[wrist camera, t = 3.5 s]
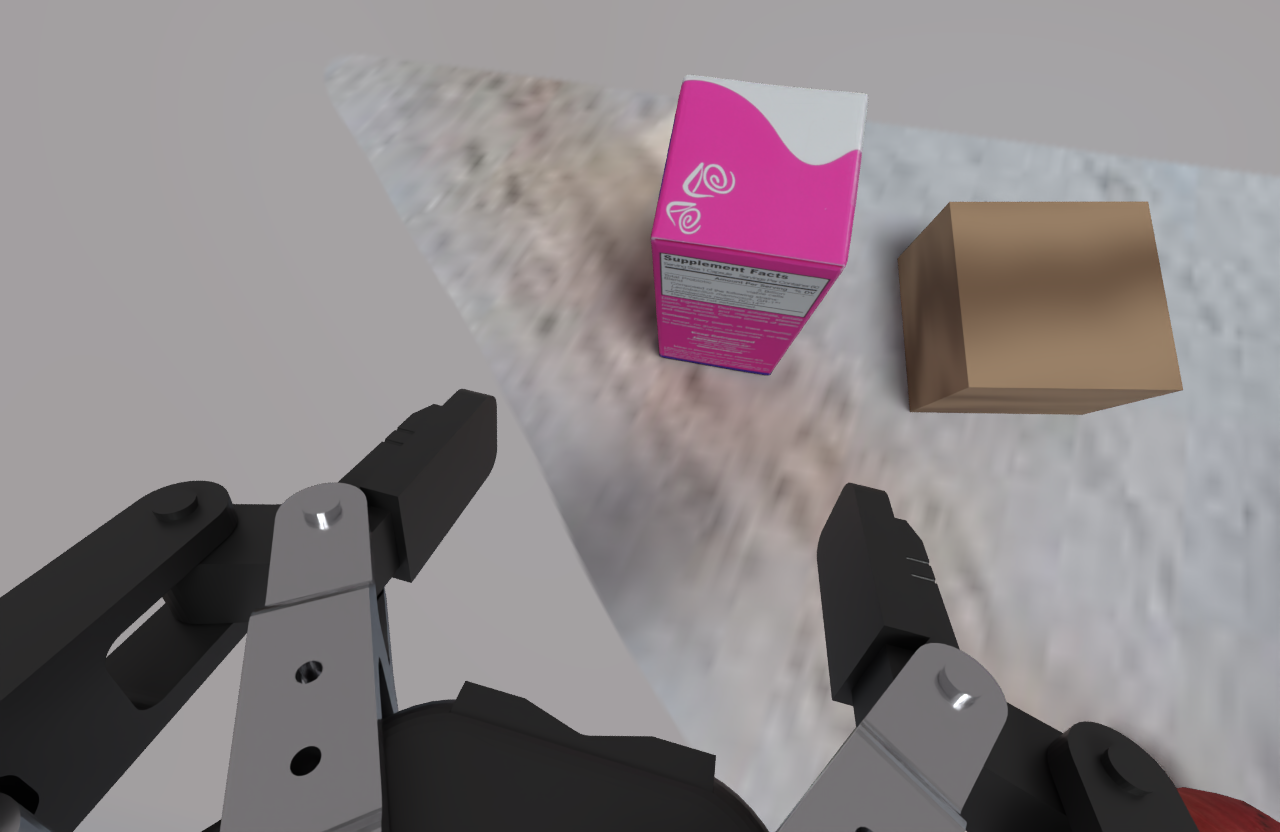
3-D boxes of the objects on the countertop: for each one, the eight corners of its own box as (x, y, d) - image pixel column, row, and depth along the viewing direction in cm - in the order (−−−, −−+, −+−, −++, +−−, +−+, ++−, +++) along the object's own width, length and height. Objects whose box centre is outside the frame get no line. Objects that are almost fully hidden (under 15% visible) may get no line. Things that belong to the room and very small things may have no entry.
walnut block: (1078, 415, 25) (1183, 389, 20) (907, 412, 25) (968, 387, 20) (1056, 260, 26) (1147, 201, 21) (895, 260, 26) (949, 201, 22)
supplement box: (674, 253, 27) (684, 62, 16) (788, 272, 26) (884, 89, 15) (653, 358, 26) (647, 235, 14) (771, 380, 25) (860, 269, 14)
